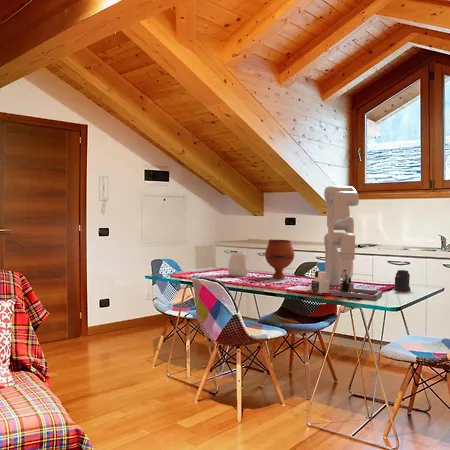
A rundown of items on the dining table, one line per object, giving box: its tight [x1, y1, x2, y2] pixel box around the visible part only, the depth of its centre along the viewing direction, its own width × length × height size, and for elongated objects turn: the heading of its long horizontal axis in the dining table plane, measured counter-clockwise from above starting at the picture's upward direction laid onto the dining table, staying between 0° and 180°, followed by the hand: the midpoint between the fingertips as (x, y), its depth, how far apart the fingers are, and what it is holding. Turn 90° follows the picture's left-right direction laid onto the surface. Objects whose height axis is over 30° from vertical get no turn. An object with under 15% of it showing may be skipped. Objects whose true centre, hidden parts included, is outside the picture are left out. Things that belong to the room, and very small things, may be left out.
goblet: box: [264, 238, 295, 280], centre depth 328 cm, size 19×19×25 cm
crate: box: [339, 282, 355, 293], centre depth 268 cm, size 6×5×4 cm
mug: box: [393, 269, 411, 293], centre depth 285 cm, size 12×9×11 cm
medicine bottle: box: [310, 270, 330, 294], centre depth 273 cm, size 7×7×12 cm
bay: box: [332, 287, 383, 301], centre depth 265 cm, size 22×16×2 cm
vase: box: [227, 252, 250, 278], centre depth 336 cm, size 14×14×15 cm
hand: (346, 289), depth 268 cm, fingers closed on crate, 5 cm apart
